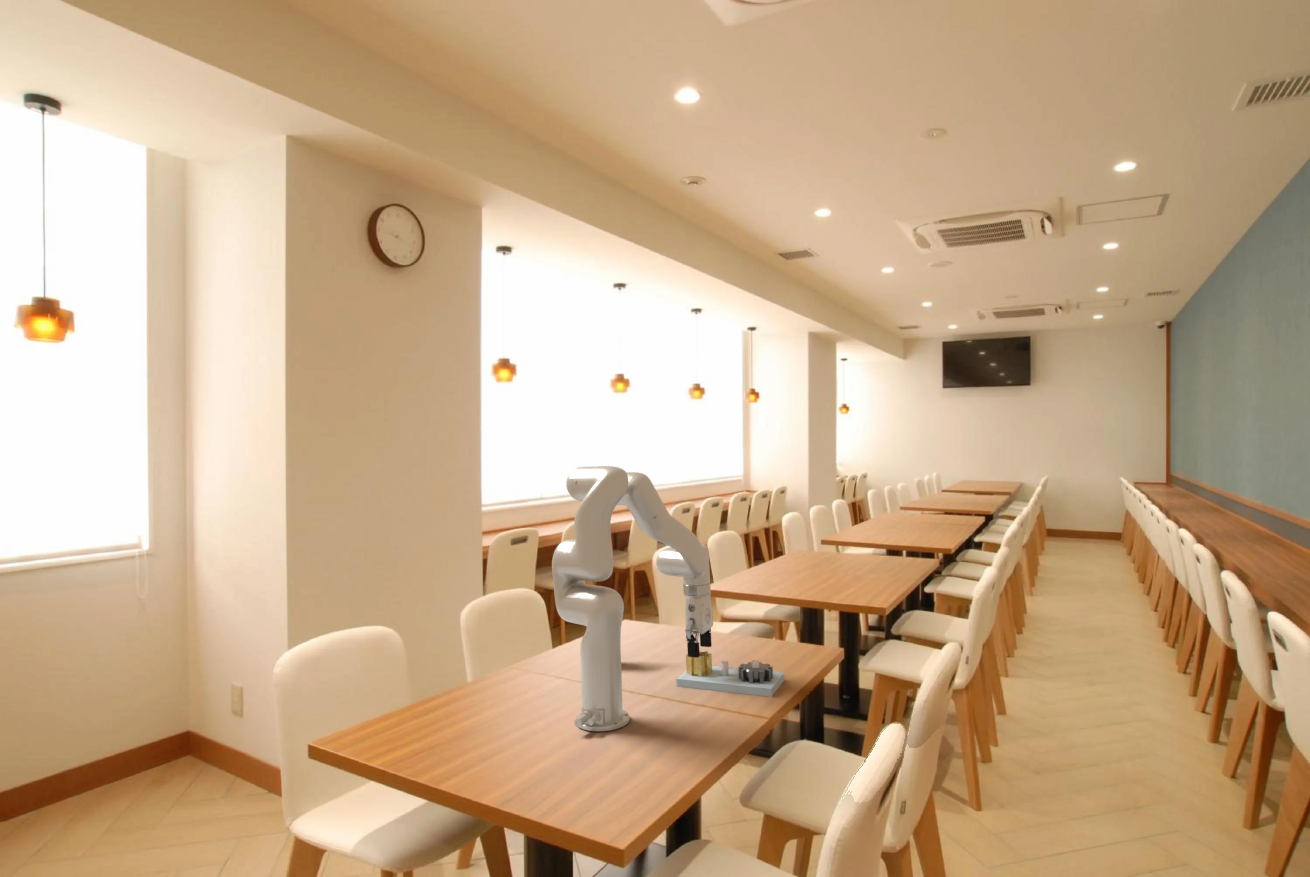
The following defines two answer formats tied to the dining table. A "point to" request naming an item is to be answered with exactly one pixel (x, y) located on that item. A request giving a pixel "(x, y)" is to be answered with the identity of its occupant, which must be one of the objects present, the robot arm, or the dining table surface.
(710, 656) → the brass gear
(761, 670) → the steel gear
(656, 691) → the dining table surface
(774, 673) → the board
